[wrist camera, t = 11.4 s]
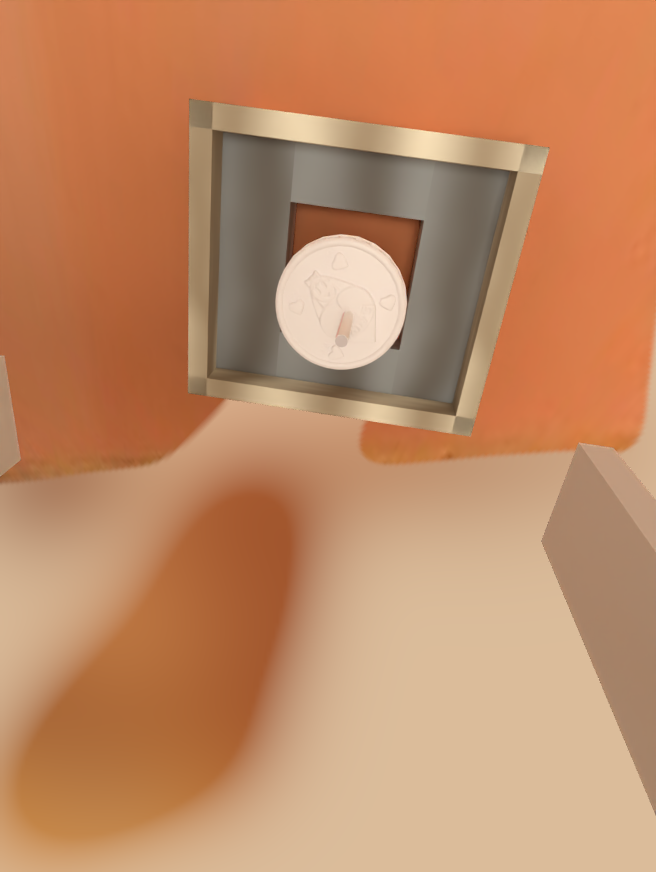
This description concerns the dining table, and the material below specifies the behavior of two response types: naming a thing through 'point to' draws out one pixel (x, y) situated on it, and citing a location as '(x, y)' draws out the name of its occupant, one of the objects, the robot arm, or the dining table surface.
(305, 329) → the smoothie
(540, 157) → the socket box
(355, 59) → the dining table surface
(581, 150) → the dining table surface
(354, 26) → the dining table surface
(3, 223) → the dining table surface
